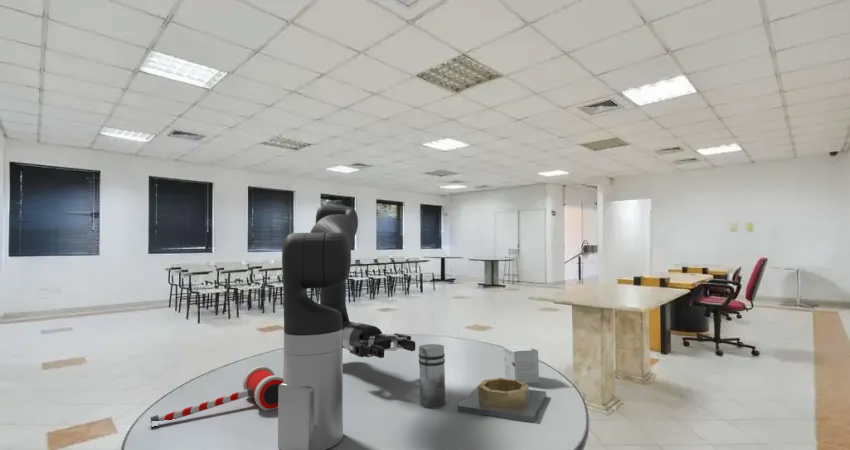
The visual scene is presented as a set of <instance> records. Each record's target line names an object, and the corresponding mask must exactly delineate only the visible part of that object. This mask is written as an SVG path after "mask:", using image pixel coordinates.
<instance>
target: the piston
mask: <svg viewBox="0 0 850 450" xmlns="http://www.w3.org/2000/svg"><path fill="white" fill-rule="evenodd" d="M445 357H446V354H445V346H444V345H442V344H439V343H434V344H433V343H428V344H421V345H420V346H419V347H418V358H419V359H418V363H419V402H420V404H419V405H420V406H421V407H422V408H425V409H439V408H442V407H444V406H446V401H447V400H446V378H445V377H446V373H445V372H446V371H445V370H446V369H445V363H446V359H445Z"/></svg>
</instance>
